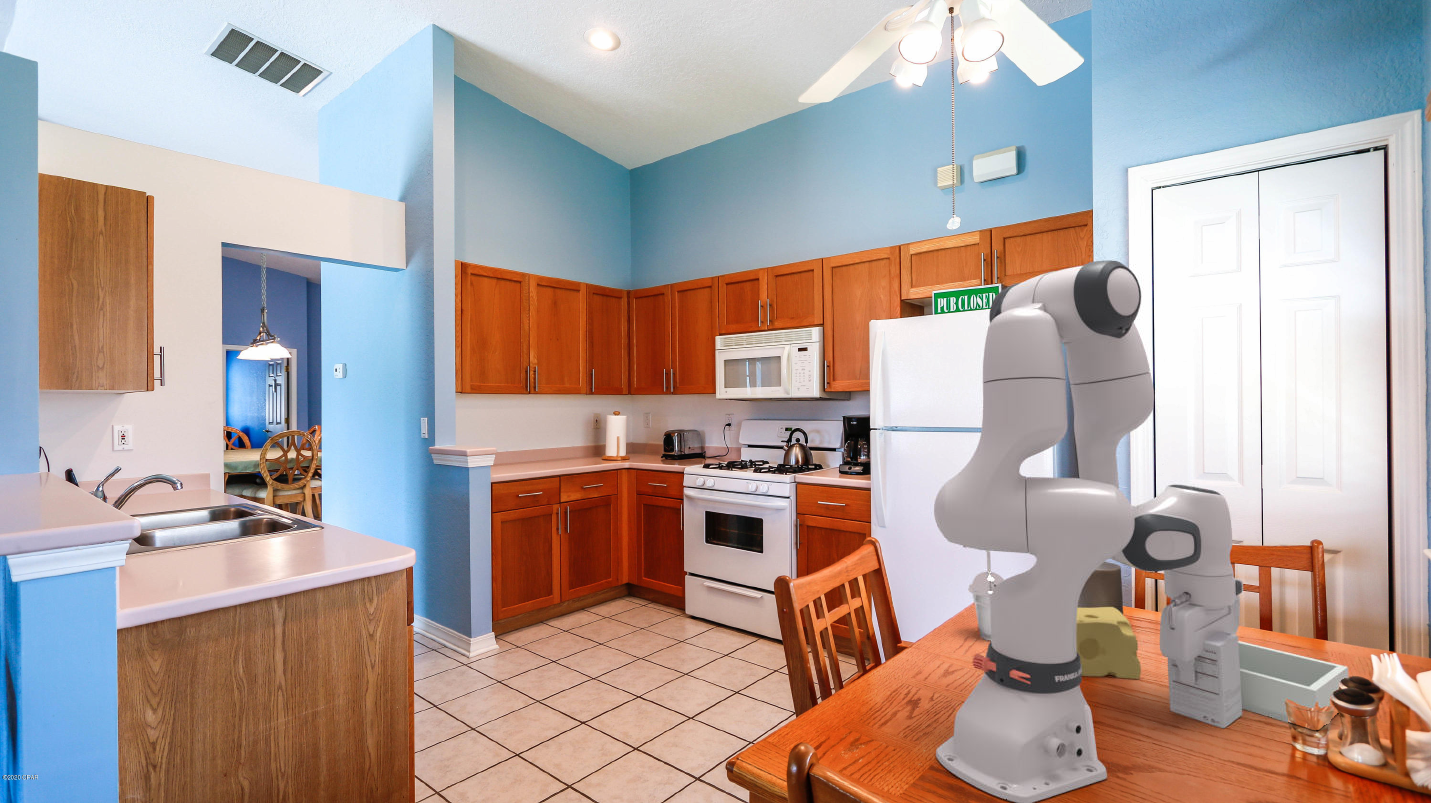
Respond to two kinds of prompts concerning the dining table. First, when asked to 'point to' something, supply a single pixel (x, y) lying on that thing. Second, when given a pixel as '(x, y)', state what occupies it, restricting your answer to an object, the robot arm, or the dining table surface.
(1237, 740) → the dining table surface
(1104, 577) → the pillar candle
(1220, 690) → the supplement box
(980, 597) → the cup with straw
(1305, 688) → the box
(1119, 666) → the cheese
